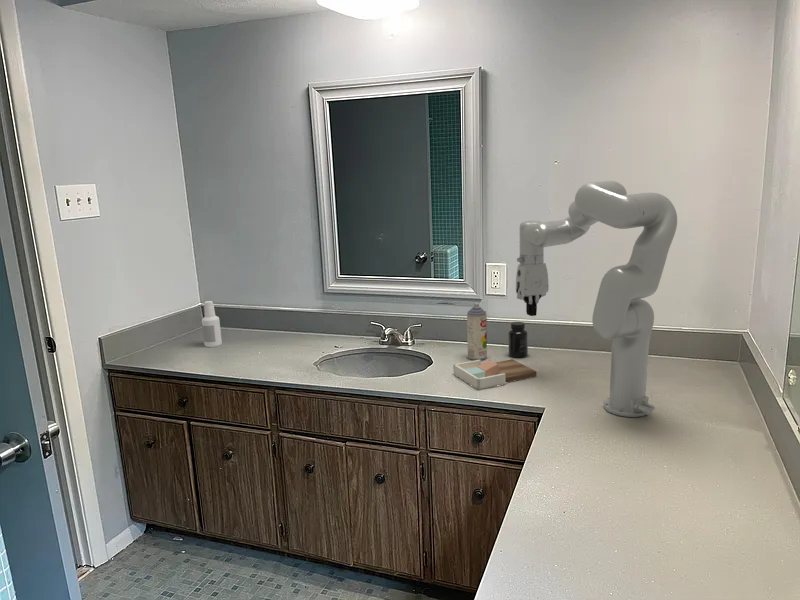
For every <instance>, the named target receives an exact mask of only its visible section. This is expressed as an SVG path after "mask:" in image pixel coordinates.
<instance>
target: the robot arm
mask: <svg viewBox="0 0 800 600" xmlns="http://www.w3.org/2000/svg"><path fill="white" fill-rule="evenodd" d="M567 213H568V216H567V217H566V218H564V219H561V220H554V221H553V220H552V221H545V222H542V221H540V220H525V221H521V222H520V224H519V257H517V258H516V261H517V263H518V265H517V268H516V275H515V292H516V299H517V300H522V301H524V304H526V305H525V307H526V309H525V310H526V311H525V312H526V315H528V316H529V317H535V316H537V311H538V310H537V309H538V307H537V306H538V305H537V304H538V303H539V301H540V299H541V298H543V297H545V296H546V295H547V293H548V292H549V290H550V289H549V275H548V274H549V272H548V268H547V264H546V263H545V262H544V258H545V257H544V254H545V253H544V251H545V249H544V248H547V247H548V248H549V247H553V246H554V247H555V246H560V245H562V246H563V245H567V244H569V243H571V242H573V241H575V240H577V239H579V238H582V236H584V235H585V234H586V233H587V232H588V231H589V229H590V227H591V226H593V225H594V224H596V223H598V222H599V223H602V224H604V225H607V226H608V227H611V228H614V229H618V230H619V229H620V230H628V229H633V228H640V227H643V230H642V231H641V233H640V234H639V235H638V236H637V239H636V240H635V242H634V244H633V247H632V251H631V254H630V258H629V260H628V262H627V263H626V264H621V265H617V266H614V267H611V268H610V269H609V270H607V271H606V273H605V274H604V275H603V277H602V278H601V281H600V284H599V288H598V292H597V296H596V300H595V305H594V309H593V313H592V326H593V330H594V332H595V333H596V335H598V337H600V338H601V339H604V340H613V341H612V345H611V351H610V353H611V354H610V355H611V357H610V376H609V380H610V381H609V397H608V398H607V397H606V398H605V400H603V408H604V410H606V412H609V413H611V414H613V415H616V416H620V417H627V418H639V417H645V416H649V415H651V413H652V411H654V410H655V408H656V407H655V405H653V404H650V403H649V396H647V380H648V379H647V378H648V363H649V349H650V340H651V335H652V331H653V329H654V328H653V327H654V323H655V313H654V312H655V311H654V309H653V308H652V305H651V304H650V303H649V302H648V301H646V300H645V299H644V298H648V297H650V296H652V295H654V294H655V293H656V292H657V290H658V288H659V286H660V285H659V284H660V282H661V278H662V275H663V272H664V269H665V265H666V261H667V258H668V254H669V251H670V248H671V245H672V243H673V240H674V237H675V235H676V232H677V229H678V228H677V227H678V215H677V211H676V207H675V206H674V204H673V203H672V201H671V200H670V199H669V198H668V197H667V196H665V195H664V194H660V193H657V192H642V193H641V192H640V193H639V192H638V193H633V194H632V193H631V194H628V193H627V189H626V188H625V187H624V186H623V184H621V183H620V182H617V181H613V180H602V181H592V182H588V183H585V184H582V185H581V186H580V187H579V188H578V189H577V191H576V193H575V196H574V201H573V202H571V203H570V204H569V207H568V212H567Z"/></svg>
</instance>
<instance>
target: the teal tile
mask: <svg viewBox="0 0 800 600" xmlns="http://www.w3.org/2000/svg"><path fill="white" fill-rule="evenodd" d="M465 370H466V371H468V372H469V373H471V374H473V375H474V376H476V377H477V378H483V377H486V371H484V370H482V369H480V368H478V367H475V368H470V369H465Z"/></svg>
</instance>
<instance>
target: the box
mask: <svg viewBox="0 0 800 600" xmlns="http://www.w3.org/2000/svg"><path fill="white" fill-rule="evenodd" d="M480 364H482V360H475V361H473V360H469V361H466V362H459V363H453V367H452V369H453V375H454V376H455V377H457V378H458V377H459V378H458V379H460V380H461V379H462V381H463V380H464V381H463V382H465V381H466V382H467V383H466V382H465V383H466V384H468V383H469V384H470V385H469V384H468V385H469V386H471V385H472V386H473V388H474V387H475V388H476V389H475V388H474V389H475V390H477V389H478V390H477V391H480V390H479V389H481V390H485V389H484V388H486V389H489V388H488V387H491V388H494V387H493V386H496V387H498V386H497V385H501V386H503V385H502V384H505V385H506V383H505V373H503V374H498V375H493V376H488V377H483V378H477V377H476V376H474V375H473V374H471V373H469V372H468V371H466V370H465V369H470V368H475V367H477V366H479V365H480ZM472 386H471V387H472Z"/></svg>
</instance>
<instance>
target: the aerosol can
mask: <svg viewBox="0 0 800 600" xmlns="http://www.w3.org/2000/svg"><path fill="white" fill-rule="evenodd" d="M473 304H474V305H473V306H472V308H470V310H469V311H467V313H466V326H467V327H466V331H467V332H466V334H467V338H466V339H467V340H466V341H467V359H468V360H469V361H475V360H481V361H486V360H487V359H488V357H487V356H488V354H487V353H488V345H487V344H488V340H487V339H488V336H487V335H488V334H487V333H488V332H487V331H488V330H487V327H488V326H487V323H488V320H487V319H488V318H487V311H485V310H484V309H483V308H482V307H481V306H480V303H478V302H477V303H473Z"/></svg>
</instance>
